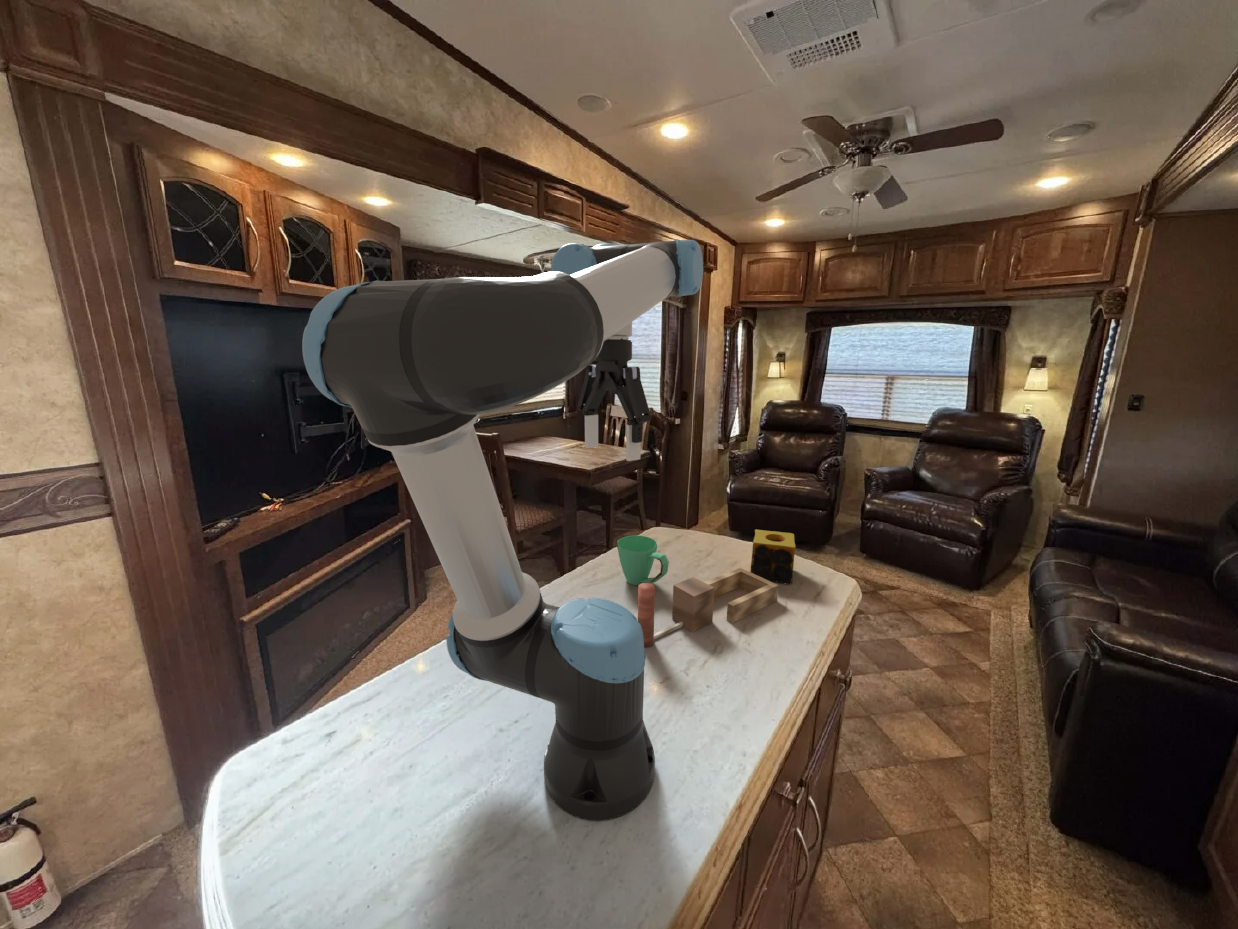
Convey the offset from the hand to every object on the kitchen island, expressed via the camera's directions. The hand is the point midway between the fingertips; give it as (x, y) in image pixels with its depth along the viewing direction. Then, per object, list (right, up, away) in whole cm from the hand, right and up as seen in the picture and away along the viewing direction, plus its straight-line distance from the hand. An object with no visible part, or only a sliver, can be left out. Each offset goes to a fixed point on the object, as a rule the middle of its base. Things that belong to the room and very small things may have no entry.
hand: (611, 453), depth 92 cm
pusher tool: (+12, -36, +7) cm, 39 cm away
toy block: (+41, -30, +32) cm, 60 cm away
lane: (+28, -34, +18) cm, 47 cm away
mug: (+8, -32, +26) cm, 42 cm away
